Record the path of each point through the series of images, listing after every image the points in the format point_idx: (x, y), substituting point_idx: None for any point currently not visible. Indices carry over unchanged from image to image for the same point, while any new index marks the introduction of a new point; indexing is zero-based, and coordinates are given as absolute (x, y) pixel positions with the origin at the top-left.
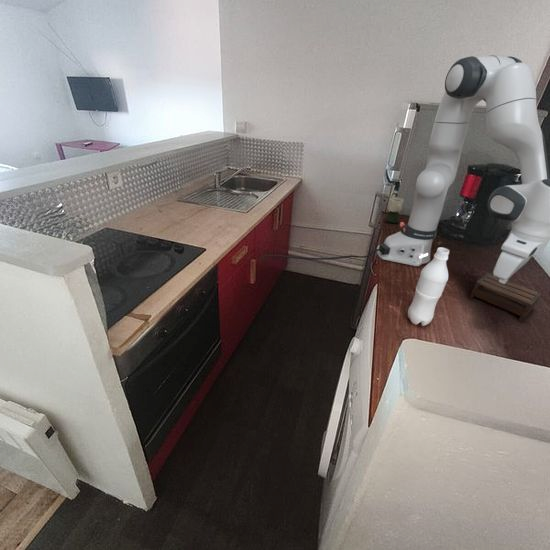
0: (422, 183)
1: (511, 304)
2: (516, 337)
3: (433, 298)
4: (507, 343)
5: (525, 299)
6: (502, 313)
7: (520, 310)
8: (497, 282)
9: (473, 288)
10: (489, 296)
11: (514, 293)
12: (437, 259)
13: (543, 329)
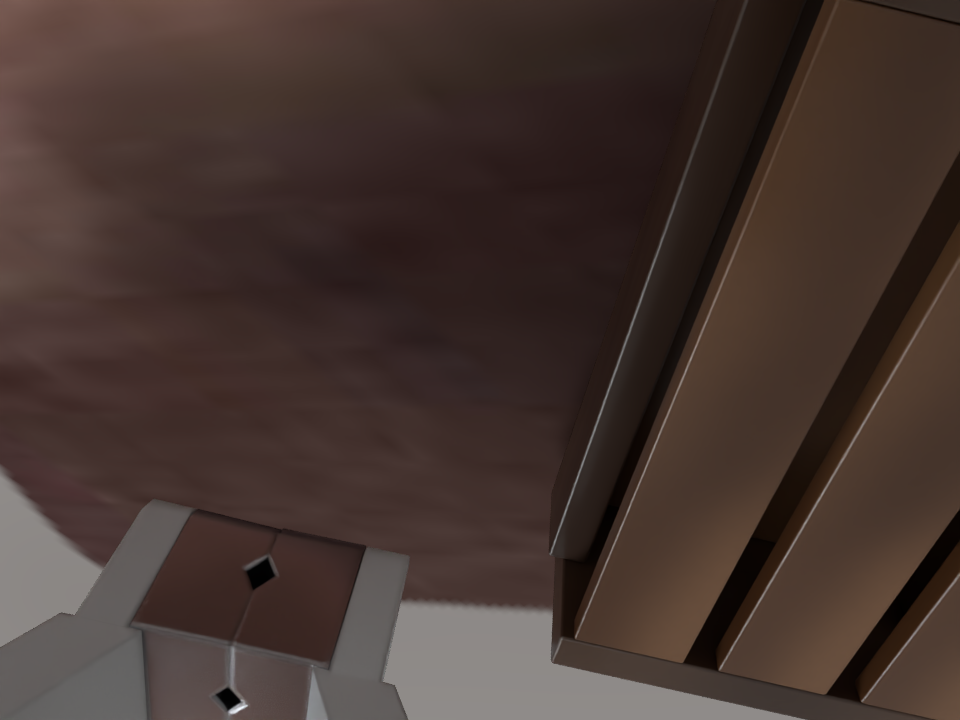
0: None
1: (583, 454)
2: (232, 441)
3: None
4: (69, 386)
5: (650, 620)
6: (589, 328)
7: (557, 517)
8: None
9: None
10: (670, 197)
11: (749, 525)
12: None
13: (546, 601)
